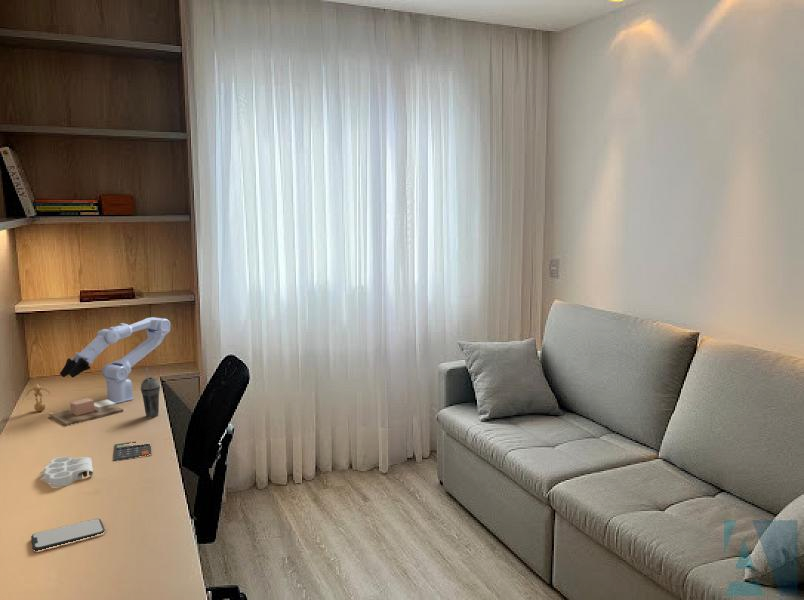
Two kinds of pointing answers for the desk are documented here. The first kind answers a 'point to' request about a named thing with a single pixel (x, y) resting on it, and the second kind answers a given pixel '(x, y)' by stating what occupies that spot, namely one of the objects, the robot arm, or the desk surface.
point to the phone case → (66, 534)
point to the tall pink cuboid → (82, 406)
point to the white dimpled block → (66, 470)
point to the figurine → (40, 405)
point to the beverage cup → (150, 396)
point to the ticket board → (100, 408)
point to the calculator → (130, 451)
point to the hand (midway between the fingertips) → (66, 375)
